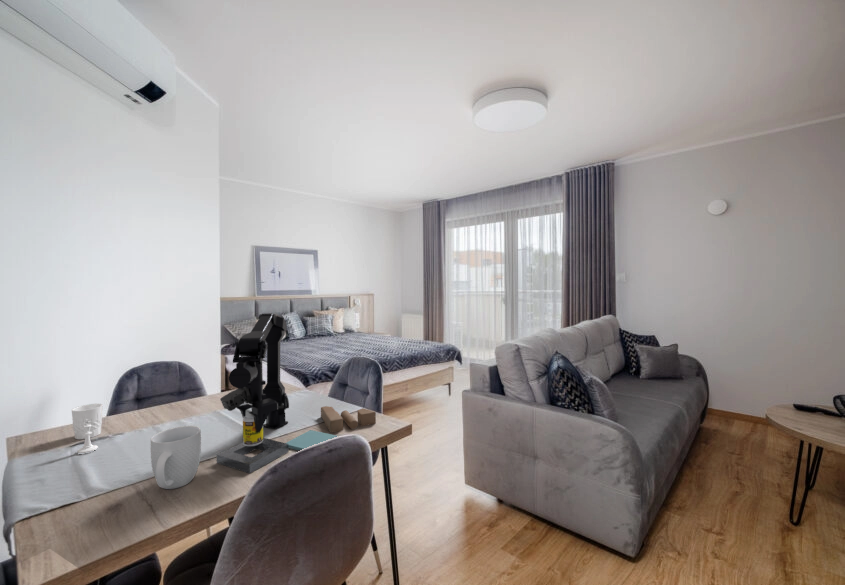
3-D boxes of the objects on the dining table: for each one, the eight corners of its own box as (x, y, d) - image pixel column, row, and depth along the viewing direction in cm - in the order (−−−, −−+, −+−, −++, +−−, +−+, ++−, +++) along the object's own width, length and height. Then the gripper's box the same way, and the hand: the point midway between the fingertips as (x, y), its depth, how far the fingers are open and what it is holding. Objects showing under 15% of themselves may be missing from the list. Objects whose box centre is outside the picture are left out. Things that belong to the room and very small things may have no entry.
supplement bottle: (242, 448, 104) (241, 414, 104) (244, 440, 109) (243, 407, 109) (262, 445, 106) (262, 411, 106) (264, 437, 111) (263, 405, 111)
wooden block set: (330, 418, 125) (319, 404, 141) (331, 434, 125) (320, 418, 141) (376, 410, 133) (361, 397, 149) (376, 425, 133) (361, 410, 149)
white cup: (67, 438, 123) (66, 409, 123) (95, 429, 130) (94, 402, 130) (80, 441, 120) (79, 412, 120) (108, 432, 127) (107, 405, 127)
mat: (284, 446, 115) (284, 443, 115) (310, 432, 126) (310, 429, 126) (312, 454, 110) (312, 450, 110) (337, 438, 120) (337, 435, 120)
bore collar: (216, 462, 105) (216, 454, 105) (257, 443, 117) (256, 436, 117) (249, 473, 99) (249, 464, 99) (288, 451, 111) (288, 443, 111)
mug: (185, 500, 86) (184, 447, 86) (133, 506, 84) (132, 452, 84) (208, 469, 101) (207, 423, 101) (163, 474, 99) (162, 427, 98)
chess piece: (101, 449, 114) (100, 418, 114) (81, 455, 110) (80, 423, 110) (93, 446, 116) (92, 415, 116) (73, 452, 112) (72, 421, 112)
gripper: (210, 379, 107) (211, 431, 107) (239, 390, 95) (241, 448, 96) (247, 372, 115) (248, 419, 116) (278, 381, 104) (279, 434, 104)
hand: (253, 429), depth 108 cm, fingers closed on supplement bottle, 5 cm apart
